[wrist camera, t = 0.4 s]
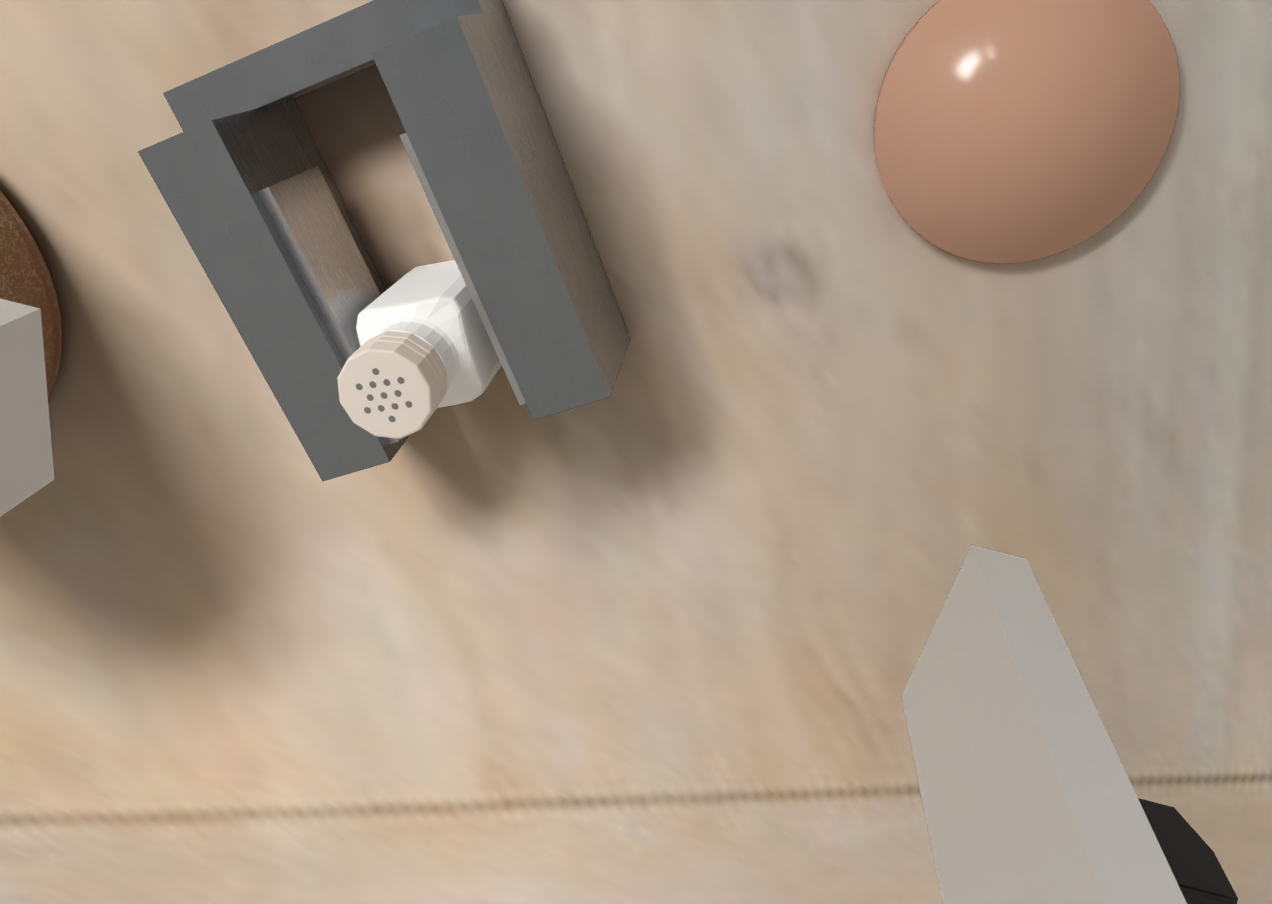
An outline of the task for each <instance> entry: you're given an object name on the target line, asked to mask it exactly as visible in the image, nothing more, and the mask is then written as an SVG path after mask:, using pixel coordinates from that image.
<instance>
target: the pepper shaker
mask: <svg viewBox="0 0 1272 904" xmlns="http://www.w3.org/2000/svg"><path fill="white" fill-rule="evenodd" d="M356 330H357V335H358V339H359V343H360V348H359V349H358V350H357V351H355V352H354V353H353V354H352V355H351V356H350V357H349V358H348V359H347V361H346V363H345V365H344V367H343V368H342V370H341V372H340V374H339V376H338V378H337V379H338V390H339V400H340V403H341V405H342V406H343V408H344V409H345V411H346V412H347V414H348V415H349V417H350V418H351V420H352V421H353V423H355V424H356V425H358V426H360V427H361V428H363V429H364V430H366V431H368V432H369V433H371V434H373V435H374V436H378V437H387V438H396V439H401V438H403V437H405V436H408V435H410V434H412V433H415V432H417V431H419V430H421V429H422V428H423V426H424V425H425V424H426V422H427V421H428V420H429V418H430V417H431V415H432V414H433V413H434V412H435V410H436V409H437V408H440V407H446V406H452V405H457V404H461V403H466V402H470V401H473V400H474V399H475V398H477V397H478V396H480V395H481V394H483V392H484V391H485V389H486V388H487V386H488V385H489V383H490V382H491V380H492V379H493V377H494V376H495V374H496V373H497V371H498V370H499V369H500V367H501V366H502V365H501V362H500V360H499V358H498V356H497V353H496V351H495V349H494V347H493V344H492V342H491V340H490V338H489V335H488V333H487V331H486V329H485V326H484V324H483V322H482V320H481V317H480V315H479V313H478V311H477V308H476V306H475V304H474V302H473V299H472V297H471V295H470V293H469V291H468V288H467V286H466V284H465V282H464V279H463V277H462V275H461V273H460V270H459V268H458V266H457V264H456V261H455V260H451V261H446V262H440V263H434V264H429V265H423V266H418V267H415V268H413V269H412V270H410V271H409V272H408V273H406V274H405V275H404V276H403V277H402V278H400V279H399V280H398V281H397V282H396V283H394V284H393V285H392V286H391V287H390V288H388V289H387V290H386V291H385V292H384V293H382V294H381V295H380V296H379V297H378V298H377V299H375V300H374V301H373V302H372V303H371V304H369V305H368V306H367V307H366V308H365V309H363V310H362V311H361V312H360V313H359V314H358V319H357V325H356Z"/></svg>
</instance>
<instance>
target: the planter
mask: <svg viewBox="0 0 1272 904" xmlns="http://www.w3.org/2000/svg"><path fill="white" fill-rule="evenodd" d="M0 298H1V299H5V300H8V301H12V302H16V303H20V304H24V305H28V306H32V307H36V308H40V310H41V322H42V335H43V347H44V359H45V371H46V383H47V395H48V397H49V395H50V393H51V391H52V388H53V386H54V383H55V380H56V377H57V374H58V370H59V365H60V360H61V352H62V325H61V316H60V309H59V305H58V300H57V296H56V292H55V288H54V285H53V282H52V279H51V276H50V273H49V271H48V268H47V266H46V263H45V261H44V259H43V257H42V255H41V252H40V250H39V248H38V246H37V245H36V243H35V241H34V239H33V237H32V235H31V234H30V232H29V230H28V229H27V227H26V225H25V224H24V222H23V221H22V219H21V218H20V216H19V215H18V213H17V212H16V211H15V209H14V208H13V206H12V205H11V204H10V202H9V201H8V200H7V199H6V197H5V196H4V195H3V193H2V192H1V191H0Z"/></svg>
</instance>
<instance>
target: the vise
mask: <svg viewBox="0 0 1272 904" xmlns="http://www.w3.org/2000/svg"><path fill="white" fill-rule="evenodd" d="M373 65H376V66H377V68H378V70H379V72H380V75H381V77H382V79H383V81H384V84H385V86H386V88H387V90H388V93H389V95H390V97H391V99H392V102H393V104H394V106H395V109H396V111H397V113H398V115H399V118H400V120H401V122H402V124H403V127H404V129H405V131H406V133H404V134H402V135H399V136H400V138H401V140H402V142H403V145H404V147H405V149H406V151H407V154H408V156H409V158H410V160H411V163H412V165H413V167H414V169H415V172H416V174H417V176H418V178H419V181H420V183H421V185H422V187H423V190H424V192H425V194H426V196H427V198H428V201H429V203H430V205H431V207H432V210H433V212H434V214H435V216H436V219H437V221H438V223H439V225H440V228H441V230H442V232H443V234H444V237H445V239H446V241H447V243H448V246H449V248H450V250H451V252H452V255H453V257H454V259H455V261H456V264H457V266H458V268H459V270H460V273H461V275H462V277H463V279H464V282H465V284H466V286H467V288H468V291H469V293H470V295H471V297H472V299H473V302H474V304H475V306H476V308H477V311H478V313H479V315H480V317H481V320H482V322H483V324H484V326H485V329H486V331H487V333H488V335H489V338H490V340H491V342H492V344H493V347H494V349H495V351H496V353H497V356H498V358H499V360H500V362H501V365H502V367H503V369H504V371H505V374H506V376H507V378H508V380H509V383H510V385H511V387H512V389H513V392H514V394H515V396H516V398H517V400H518V403H519V405H523V404H526V405H527V407H528V409H529V412H530V414H531V416H532V418H533V420H534V419H538V418H541V417H544V416H548V415H551V414H555V413H558V412H561V411H565V410H568V409H572V408H575V407H579V406H582V405H585V404H589V403H592V402H596V401H599V400H602V399H606V398H609V397H610V395H611V393H612V390H613V387H614V384H615V381H616V379H617V376H618V373H619V370H620V367H621V365H622V362H623V359H624V356H625V353H626V351H627V348H628V345H629V342H630V340H631V339H630V336H629V334H628V331H627V328H626V326H625V323H624V320H623V318H622V315H621V313H620V310H619V307H618V305H617V302H616V299H615V297H614V294H613V292H612V289H611V286H610V284H609V281H608V278H607V276H606V273H605V271H604V268H603V265H602V263H601V260H600V257H599V255H598V252H597V250H596V247H595V244H594V242H593V239H592V236H591V234H590V231H589V228H588V226H587V223H586V221H585V218H584V215H583V213H582V210H581V207H580V205H579V202H578V200H577V197H576V194H575V192H574V189H573V186H572V184H571V181H570V179H569V176H568V173H567V171H566V168H565V165H564V163H563V160H562V157H561V155H560V152H559V150H558V147H557V144H556V142H555V139H554V136H553V134H552V131H551V129H550V126H549V123H548V121H547V118H546V115H545V113H544V110H543V108H542V105H541V102H540V100H539V97H538V94H537V92H536V89H535V87H534V84H533V81H532V79H531V76H530V73H529V71H528V68H527V65H526V63H525V60H524V58H523V55H522V52H521V50H520V47H519V44H518V42H517V39H516V37H515V34H514V31H513V29H512V26H511V23H510V21H509V18H508V16H507V13H506V10H505V8H504V5H503V2H502V0H374V1H371V2H369V3H367V4H365V5H362V6H360V7H358V8H355V9H353V10H351V11H349V12H346V13H344V14H342V15H340V16H337V17H335V18H333V19H330V20H328V21H326V22H324V23H321V24H319V25H317V26H315V27H312V28H310V29H308V30H306V31H303V32H301V33H299V34H296V35H294V36H292V37H290V38H287V39H285V40H283V41H281V42H278V43H276V44H274V45H271V46H269V47H267V48H265V49H262V50H260V51H258V52H256V53H253V54H251V55H249V56H247V57H244V58H242V59H240V60H237V61H235V62H233V63H231V64H228V65H226V66H224V67H222V68H219V69H217V70H215V71H212V72H210V73H208V74H206V75H203V76H201V77H199V78H197V79H194V80H192V81H190V82H187V83H185V84H183V85H181V86H178V87H176V88H174V89H172V90H169V91H167V92H165V93H163V94H164V96H165V98H166V100H167V102H168V103H169V105H170V107H171V109H172V111H173V113H174V115H175V116H176V118H177V120H178V122H179V124H180V126H181V128H182V130H183V131H184V132H183V133H180V134H178V135H176V136H173V137H171V138H169V139H166V140H164V141H161V142H159V143H157V144H154V145H152V146H150V147H147V148H145V149H143V150H140V151H138V153H139V155H140V156H141V158H142V160H143V162H144V164H145V165H146V167H147V169H148V171H149V172H150V174H151V176H152V178H153V180H154V181H155V183H156V185H157V187H158V189H159V190H160V192H161V194H162V196H163V197H164V199H165V201H166V203H167V205H168V206H169V208H170V210H171V212H172V214H173V215H174V217H175V219H176V221H177V222H178V224H179V226H180V228H181V230H182V231H183V233H184V235H185V237H186V239H187V240H188V242H189V244H190V246H191V247H192V249H193V251H194V253H195V255H196V256H197V258H198V260H199V262H200V263H201V265H202V267H203V269H204V271H205V272H206V274H207V276H208V278H209V280H210V281H211V283H212V285H213V287H214V288H215V290H216V292H217V294H218V296H219V297H220V299H221V301H222V303H223V305H224V306H225V308H226V310H227V312H228V313H229V315H230V317H231V319H232V321H233V322H234V324H235V326H236V328H237V330H238V331H239V333H240V335H241V337H242V338H243V340H244V342H245V344H246V346H247V347H248V349H249V351H250V353H251V355H252V356H253V358H254V360H255V362H256V363H257V365H258V367H259V369H260V371H261V372H262V374H263V376H264V378H265V380H266V381H267V383H268V385H269V387H270V388H271V390H272V392H273V394H274V396H275V397H276V399H277V401H278V403H279V404H280V406H281V408H282V410H283V412H284V413H285V415H286V417H287V419H288V421H289V422H290V424H291V426H292V428H293V429H294V431H295V433H296V435H297V437H298V438H299V440H300V442H301V444H302V446H303V447H304V449H305V451H306V453H307V454H308V456H309V458H310V460H311V462H312V463H313V465H314V467H315V469H316V471H317V472H318V474H319V476H320V478H321V479H322V481H326V480H329V479H333V478H336V477H339V476H343V475H346V474H350V473H353V472H357V471H360V470H363V469H367V468H370V467H374V466H377V465H380V464H384V463H387V462H390V461H391V459H392V458H393V457H394V456H395V454H396V453H397V452H398V450H399V449H400V448H401V446H402V445H403V444H404V442H405V441H406V440H407V439H408V437H409V436H410V435H411V434H410V435H408V436H405V437H403V438H401V439H396V438H387V437H378V436H374V435H373V434H371V433H369V432H368V431H366V430H364V429H363V428H361V427H360V426H358V425H356V424H355V423H353V421H352V420H351V418H350V417H349V415H348V414H347V412H346V411H345V409H344V408H343V406H342V405H341V403H340V400H339V390H338V379H337V378H338V376H339V374H340V372H341V370H342V368H343V367H344V365H345V363H346V361H347V359H348V358H349V357H350V356H351V355H352V354H353V353H354V352H355V351H357V350H358V349H359V348H360V343H359V339H358V335H357V330H356V325H357V319H358V314H359V313H360V312H361V311H362V310H363V309H365V308H366V307H367V306H368V305H369V304H371V303H372V302H373V301H374V300H375V299H377V298H378V297H379V296H380V295H381V294H382V293H384V292H385V291H386V289H385V287H384V285H383V283H382V281H381V279H380V277H379V275H378V273H377V271H376V269H375V267H374V264H373V262H372V260H371V258H370V256H369V254H368V252H367V250H366V248H365V246H364V244H363V242H362V240H361V238H360V235H359V233H358V231H357V229H356V227H355V225H354V223H353V221H352V219H351V217H350V215H349V213H348V211H347V209H346V207H345V204H344V202H343V200H342V198H341V196H340V194H339V192H338V190H337V188H336V186H335V184H334V182H333V180H332V178H331V175H330V173H329V171H328V169H327V167H326V165H325V163H324V161H323V159H322V157H321V155H320V153H319V151H318V149H317V146H316V144H315V142H314V140H313V138H312V136H311V134H310V132H309V130H308V128H307V126H306V124H305V122H304V120H303V117H302V115H301V113H300V111H299V109H298V107H297V105H296V103H295V101H294V99H295V98H297V97H300V96H302V95H304V94H307V93H309V92H312V91H314V90H316V89H319V88H321V87H323V86H326V85H328V84H331V83H333V82H335V81H338V80H340V79H342V78H345V77H347V76H350V75H352V74H354V73H357V72H359V71H362V70H364V69H366V68H369V67H371V66H373Z"/></svg>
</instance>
